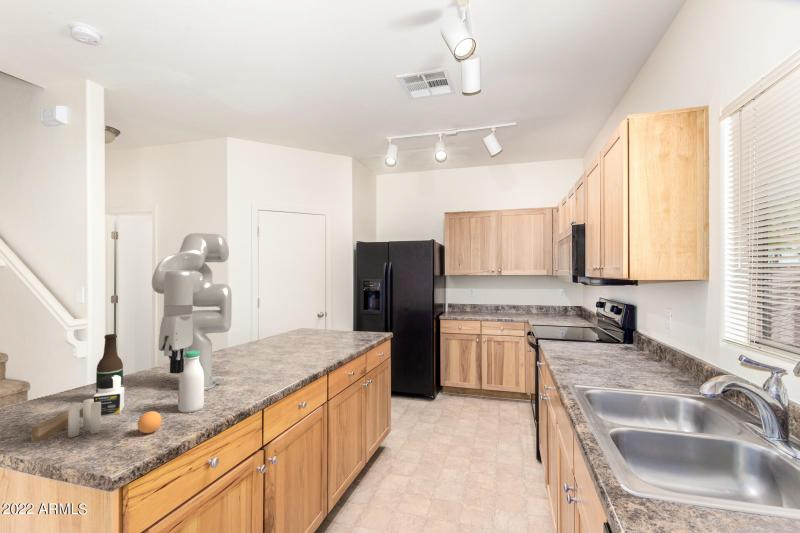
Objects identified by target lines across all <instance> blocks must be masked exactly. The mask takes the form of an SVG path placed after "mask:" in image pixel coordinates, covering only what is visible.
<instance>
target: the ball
mask: <svg viewBox="0 0 800 533" xmlns="http://www.w3.org/2000/svg"><path fill="white" fill-rule="evenodd" d="M162 419H163V418H162V415H161V414H160V413H159V412H157V411H154V410H153V411H152V410H151V411H148V412H145V413H143V414H142V415H141V416H140V417H139V418H138V420H137V424H136V425H137V429H138V430H139V431H140V432H141V433H143V434H150V433H153V432H156V431H157V430H158V429H159V427H160V426H161V425H162V422H163V421H162Z"/></svg>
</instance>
